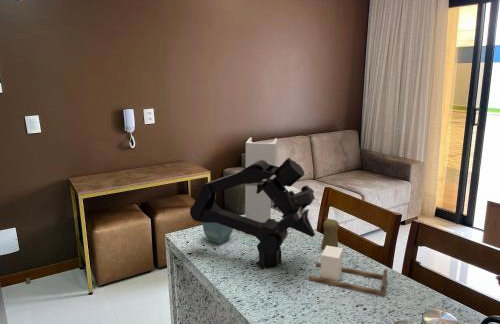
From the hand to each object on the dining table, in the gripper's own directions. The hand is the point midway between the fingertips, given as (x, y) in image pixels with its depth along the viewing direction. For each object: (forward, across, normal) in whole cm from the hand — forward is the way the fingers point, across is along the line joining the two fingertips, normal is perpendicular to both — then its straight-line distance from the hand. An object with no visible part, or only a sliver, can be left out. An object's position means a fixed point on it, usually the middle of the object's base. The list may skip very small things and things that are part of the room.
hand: (313, 235), depth 117 cm
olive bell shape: (+10, +18, +8) cm, 23 cm away
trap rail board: (+17, 0, +1) cm, 17 cm away
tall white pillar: (-10, +26, +28) cm, 40 cm away
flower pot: (-17, +10, +35) cm, 41 cm away
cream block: (+13, 0, +4) cm, 13 cm away
